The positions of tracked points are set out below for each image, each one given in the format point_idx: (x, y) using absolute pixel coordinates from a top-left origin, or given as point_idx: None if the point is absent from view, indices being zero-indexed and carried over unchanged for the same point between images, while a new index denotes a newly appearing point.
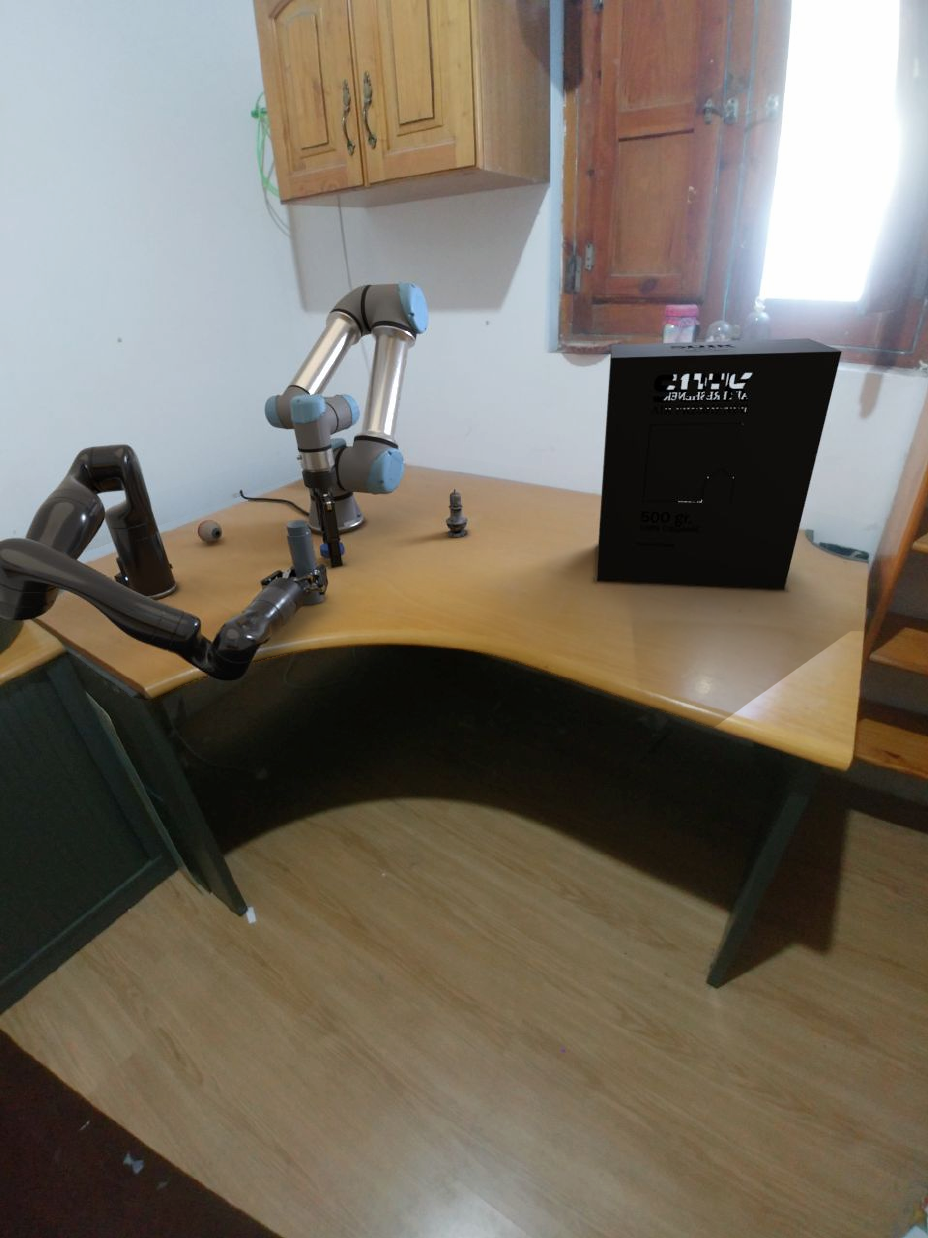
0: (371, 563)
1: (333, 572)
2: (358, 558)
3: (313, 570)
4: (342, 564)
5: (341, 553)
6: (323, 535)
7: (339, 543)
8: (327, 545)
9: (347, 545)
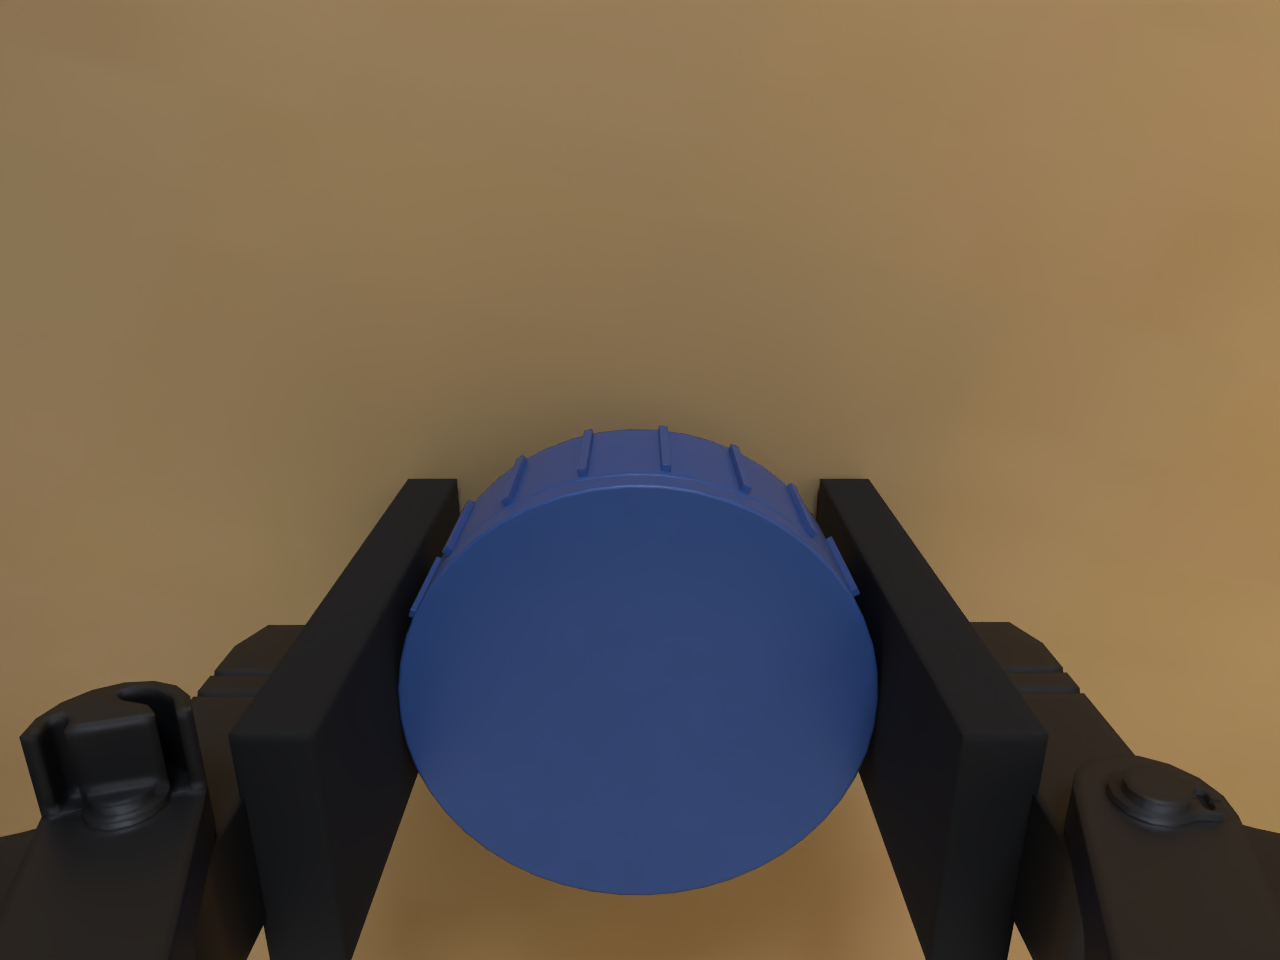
0: (1069, 6)
1: None
2: (721, 175)
3: None
4: (874, 488)
5: (814, 521)
6: (364, 904)
7: (598, 548)
8: (590, 769)
9: (41, 216)
